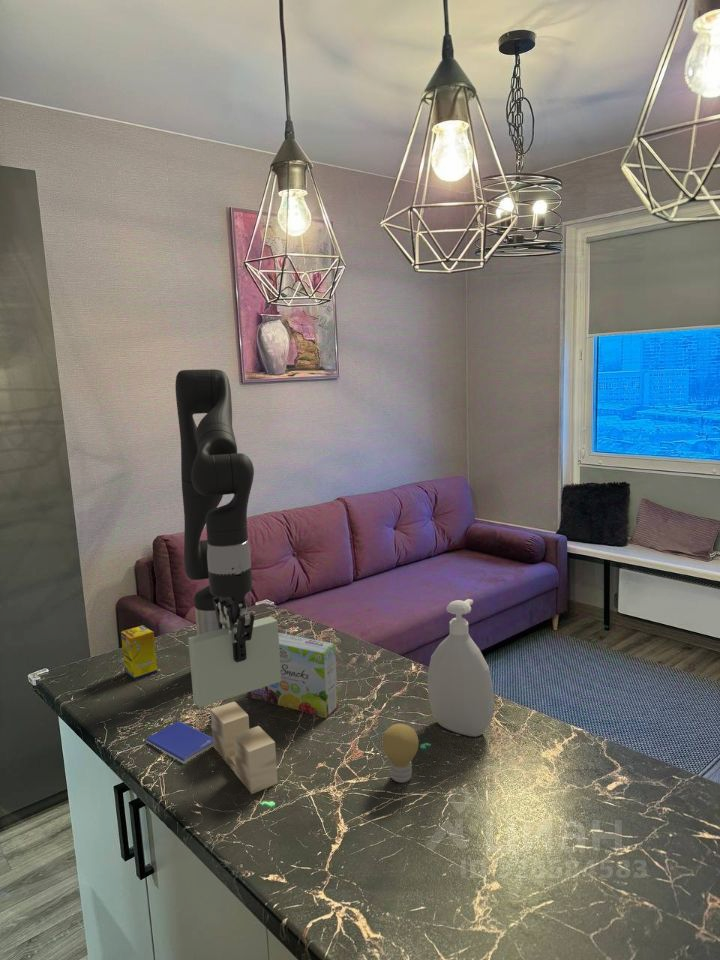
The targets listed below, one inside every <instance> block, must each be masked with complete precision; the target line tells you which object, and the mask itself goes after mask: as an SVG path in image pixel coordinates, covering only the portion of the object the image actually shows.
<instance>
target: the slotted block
mask: <svg viewBox="0 0 720 960" xmlns="http://www.w3.org/2000/svg"><path fill="white" fill-rule="evenodd" d="M210 718H211V719H210V720H211V721H210V722H211V731H212V732H211V734H212V738H213V746H214V747H213V748H214V749H215V751H216V750H217V751H218V752H219V753H218V752H217V751H216V752H217V753H218V754H219V755H220V757H221V756H222V757H223V758H222V757H221V758H222V759H223V761H224V762H225V761H226V762H225V764H226V765H227V766H230V767H229V768H230V769H231V770H232V771H234V772H233V773H234V774H235V775H236V777H237V778H238V779H239V780H240V782H241V783H242V784H243V785H244V787H245V788H246V790H248V791H249V792H250V794H251V795H253V794H256V793H258V792H261V791H262V790H265V789H268V788H271V787H272V786H275V785H277V784H278V767H277V752H276V751H277V750H276V742H275V740H274V739H273V738H272V737H271V736H270V735H269V734H268V733H267V732H266V731H265V730H263V728H262V727H260V725H257V726H254V727H251V728H250V718H249V715H248V713H247V712H246V711H245V710H244V709H243V708H242V707H241V705H239V704H238V703H237V702H236V701H232V702H227V703H225V704H222V705H220V706H215V707H213V708H210Z"/></svg>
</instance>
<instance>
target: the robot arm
mask: <svg viewBox="0 0 720 960" xmlns="http://www.w3.org/2000/svg"><path fill="white" fill-rule="evenodd" d="M174 385H175V400H176V407H177V408H176V410H177V417H178V429H179V436H180V457H181V458H180V459H181V460H180V471H181V474H180V475H181V491H182V493H181V494H182V502H183V503H182V505H183V516H184V531H183V532H184V534H183V535H184V536H183V537H184V539H183V540H184V543H183V562H184V569H185V574H186V576H187V577H188V578H189V580H192V581H200V580H207V579H208V584H209V585H207V586H206V587H204V588H202V589H200V590H198V591H197V592H196V593H195V594H194V597H193V605H194V616H195V627H196V635H200V634H204V633H208V632H212V631H216V630H219V629H223V628H227V627H228V629H229V630H231V635H232V641H233V642H232V643H233V656H234V661H235V662H240V661H244V660H246V658H247V657H246V643H245V641H248V640H251V637H252V630H253V624H254V620H255V615H254V613H253V612H251V613H248V603H247V601H246V598H245V596H246V595H247V594H248V593H250V592H251V591H252V590H253V576H252V560H251V556H252V555H251V549H250V546H249V544H250V543H249V536H248V523H247V522H248V521H247V520H248V519H247V517H248V505H249V504H248V503H249V498H250V494H251V491H252V490H251V489H252V485H253V482H254V475H255V468H254V465H253V462H252V460H251V459H250V458H249V456H248V455H246V454H245V453H241V452H239V453H238V446H237V442H236V437H235V434H234V429H233V428H234V427H233V411H232V410H233V404H232V393H231V384H230V380H229V377H228V375H227V373H226V372H225V371H224V370H221V369H214V368H213V369H212V368H209V369H205V368H204V369H182V370H180V371H178V372H177V374H176V377H175V384H174ZM196 414H198V415H199V414H200V415H201V414H204V416H203V417H202V418H201V419H200V421H199V423H198V425H197V424H196V422H195V419H194V415H196ZM232 494H233V497H232V499H231V500H230V501H229V502H228V503H226V504H224V505H221V506H219V505H220V503H221V501H222V500H223V497H224V495H232ZM204 527H206V539H202V540H201V536H202V534H203V530H204ZM236 630H237V633H236Z"/></svg>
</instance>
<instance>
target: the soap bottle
mask: <svg viewBox="0 0 720 960" xmlns="http://www.w3.org/2000/svg"><path fill="white" fill-rule="evenodd" d="M473 604H474V599H470V598H467V599H465V600H462V599H461V600H459V599H456V600H453V601H451V602H450V603H448V605H447V606H446V609H445V610H446V612H447V613H450V614H452V615H455V617H454V618H451V620H450V621H449V622H448V623H449V634H448V636H446V637H445V639H443V640H442V641H441V642H440V643H439V645H438V646H437V648H436V649H435V651H433V653H432V655H431V656H430V661H429V666H428V669H427V670H428V671H427V696H428V701H429V707H430V710H431V712H432V715H433V716H434V719H435V721H436V722H437V723H438V724H439V726H441V727H443V728H444V729H446V730H448V731H451V732H454V733H456V734H458V735H459V734H460V735H462V736H468V737H479V736H481V735H483V734H484V733H485V732H486V731H487V729H488V727H490V725H491V722H492V720H493V719H492V718H493V715H494V708H495V707H494V704H495V697H494V689H493V681H492V676H491V671H490V667H489V665H488V663H487V660H486V659H485V658H484V655H483V653H482V651H481V650H480V648H479V647H478V645H477V644H476V642H475V641H474V640H473V639H472V637H471V636H470V633H469V621H468V620H467V619H466V618H464V617H462V616H463V615H467V614H470V613H471V611H472V607H471V606H472V605H473Z"/></svg>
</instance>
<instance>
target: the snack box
mask: <svg viewBox="0 0 720 960" xmlns="http://www.w3.org/2000/svg"><path fill="white" fill-rule="evenodd" d="M278 634H279V651H280V667H281V682H278V683H275V684H271V685H268V686H265V687H262V688H259V689H256V690H253V691H250V692H247V693H246V694H247V698H249V697H250V699H253V698H254V700H257V699H258V701H261V702H266V703H269V704H273V705H275V706H276V705H277V706H281V707H284V708H287V707H288V709H292V710H295V709H296V711H298V710H299V711H300V712H302V711H303V713H306V714H311V715H313V714H314V716H317V715H318V716H317V717H322V718H328V717H329V716H330V715H331V714H332V713H333V712H334V711H335V710H336V709H337V708H338V707H339V701H338V698H339V697H338V682H337V680H338V679H337V665H336V664H337V662H336V660H337V659H336V644H335V643H333V642H328V641H323V640H317V639H312V638H306V637H303V636H297V635H291V634H288V633H286V634H285V633H282V632H278Z"/></svg>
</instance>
